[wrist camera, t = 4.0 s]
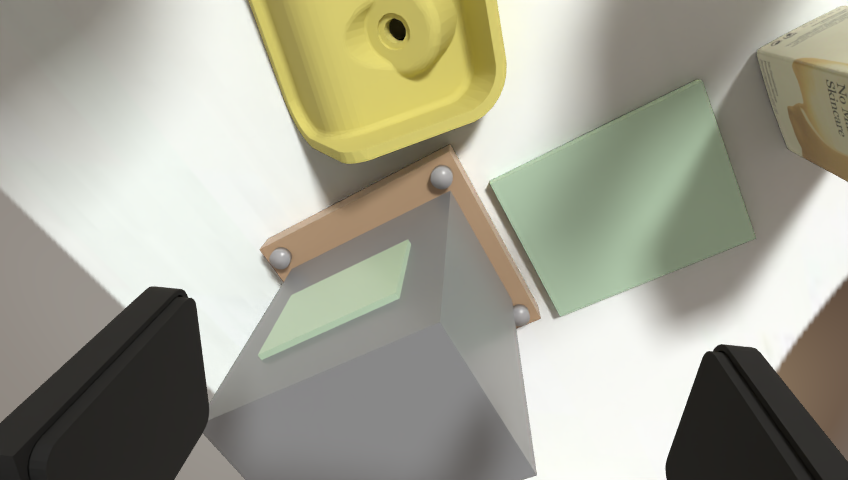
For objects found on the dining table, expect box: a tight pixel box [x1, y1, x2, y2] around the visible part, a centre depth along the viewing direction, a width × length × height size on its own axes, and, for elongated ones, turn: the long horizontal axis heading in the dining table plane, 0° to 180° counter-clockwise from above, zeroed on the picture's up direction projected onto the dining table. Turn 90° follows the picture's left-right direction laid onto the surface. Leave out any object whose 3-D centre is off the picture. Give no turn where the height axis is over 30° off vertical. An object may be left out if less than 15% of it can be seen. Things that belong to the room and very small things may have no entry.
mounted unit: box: [203, 144, 541, 480], centre depth 28 cm, size 12×13×14 cm
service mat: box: [490, 79, 756, 317], centre depth 31 cm, size 10×12×1 cm
